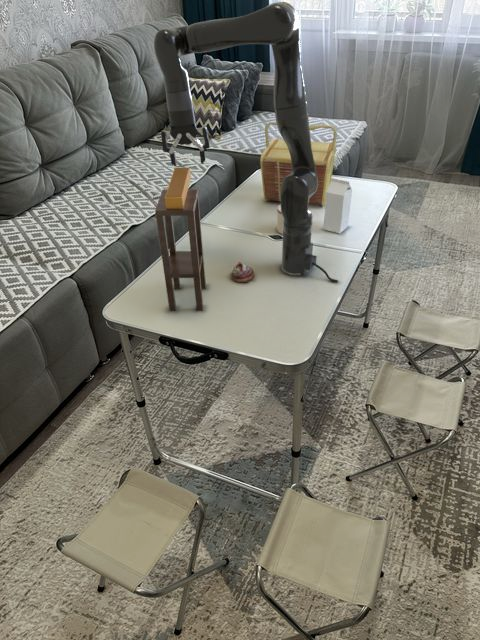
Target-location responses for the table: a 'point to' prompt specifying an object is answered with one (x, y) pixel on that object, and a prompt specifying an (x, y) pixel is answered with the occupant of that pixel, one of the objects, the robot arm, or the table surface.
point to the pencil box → (178, 188)
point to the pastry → (242, 273)
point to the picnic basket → (279, 165)
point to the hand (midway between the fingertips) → (189, 164)
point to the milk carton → (337, 205)
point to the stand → (181, 261)
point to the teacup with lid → (280, 220)
